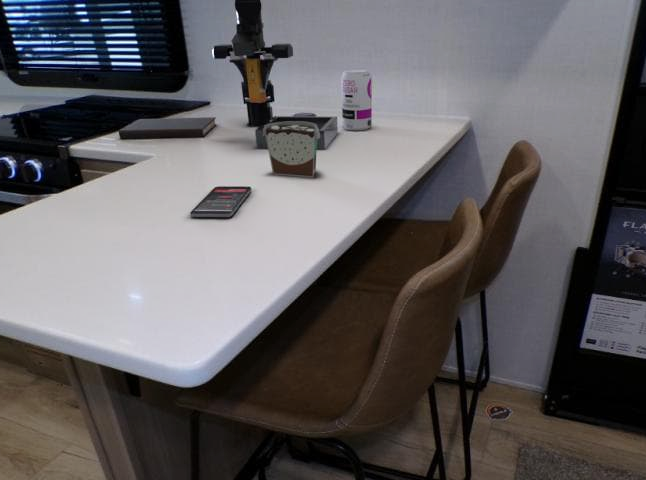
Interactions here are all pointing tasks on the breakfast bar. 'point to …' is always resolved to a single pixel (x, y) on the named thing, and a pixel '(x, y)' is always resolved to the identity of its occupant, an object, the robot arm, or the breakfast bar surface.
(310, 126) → the food container
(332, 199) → the breakfast bar surface
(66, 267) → the breakfast bar surface
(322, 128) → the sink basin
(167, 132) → the hardcover book
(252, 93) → the supplement box
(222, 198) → the smartphone
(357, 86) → the supplement can
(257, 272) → the breakfast bar surface
